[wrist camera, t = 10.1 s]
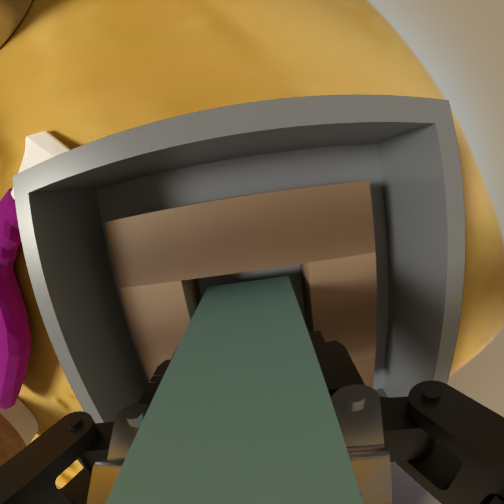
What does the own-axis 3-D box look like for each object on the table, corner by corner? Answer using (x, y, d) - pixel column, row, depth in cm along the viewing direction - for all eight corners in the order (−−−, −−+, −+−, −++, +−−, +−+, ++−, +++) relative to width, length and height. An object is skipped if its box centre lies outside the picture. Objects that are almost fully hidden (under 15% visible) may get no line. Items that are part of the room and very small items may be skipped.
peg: (207, 286, 14) (101, 512, 3) (287, 275, 14) (366, 515, 2) (222, 355, 15) (180, 570, 3) (295, 346, 15) (342, 566, 3)
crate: (89, 177, 16) (12, 176, 9) (381, 129, 15) (448, 100, 8) (156, 414, 19) (130, 480, 12) (388, 386, 18) (425, 449, 12)
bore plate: (130, 216, 15) (105, 222, 12) (348, 182, 15) (369, 180, 12) (178, 394, 18) (168, 423, 15) (357, 373, 17) (371, 400, 14)
